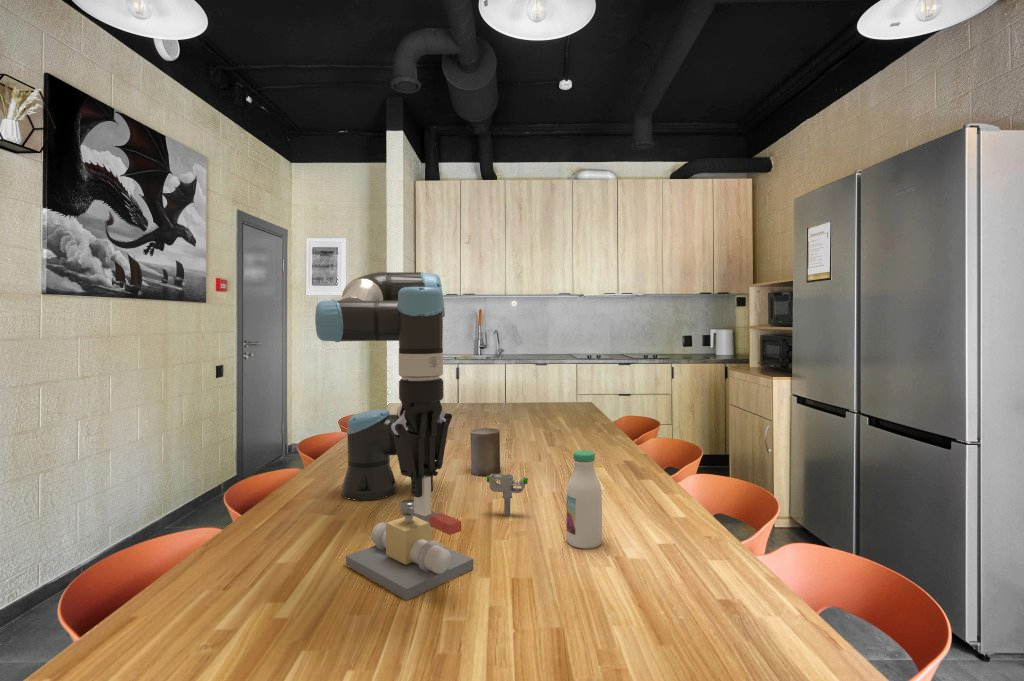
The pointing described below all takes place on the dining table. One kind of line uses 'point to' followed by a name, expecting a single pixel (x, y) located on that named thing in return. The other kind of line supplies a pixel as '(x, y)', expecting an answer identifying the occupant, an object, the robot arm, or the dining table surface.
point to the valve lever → (433, 518)
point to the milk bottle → (584, 503)
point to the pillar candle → (485, 451)
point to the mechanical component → (506, 487)
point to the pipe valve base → (408, 558)
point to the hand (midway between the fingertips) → (422, 513)
